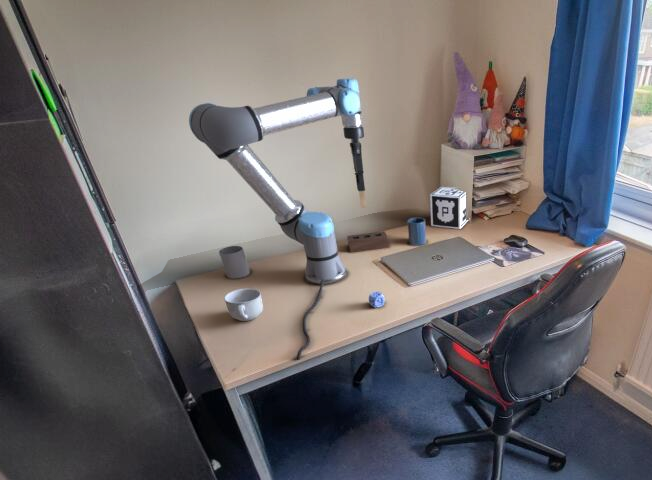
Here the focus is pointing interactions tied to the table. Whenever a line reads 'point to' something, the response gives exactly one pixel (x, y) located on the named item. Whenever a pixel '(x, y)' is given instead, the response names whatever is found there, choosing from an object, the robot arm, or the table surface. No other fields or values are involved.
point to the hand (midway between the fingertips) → (361, 189)
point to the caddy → (367, 241)
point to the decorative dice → (376, 299)
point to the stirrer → (362, 199)
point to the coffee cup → (417, 231)
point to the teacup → (244, 304)
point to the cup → (234, 262)
